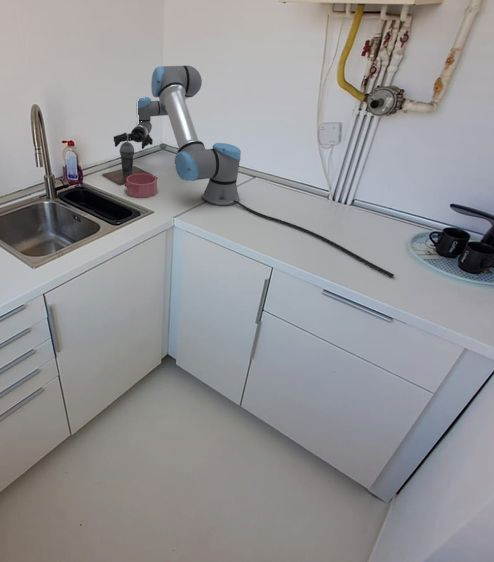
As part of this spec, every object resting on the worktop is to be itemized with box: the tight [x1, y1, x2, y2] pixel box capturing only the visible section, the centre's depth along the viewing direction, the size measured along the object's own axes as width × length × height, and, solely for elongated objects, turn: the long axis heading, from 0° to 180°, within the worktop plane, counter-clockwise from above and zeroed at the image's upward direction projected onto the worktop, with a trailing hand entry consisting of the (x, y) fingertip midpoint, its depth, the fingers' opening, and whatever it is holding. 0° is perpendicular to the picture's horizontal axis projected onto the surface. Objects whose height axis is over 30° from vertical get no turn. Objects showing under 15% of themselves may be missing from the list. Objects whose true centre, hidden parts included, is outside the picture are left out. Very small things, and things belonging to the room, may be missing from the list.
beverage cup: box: [119, 132, 135, 176], centre depth 181 cm, size 7×7×20 cm
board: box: [102, 165, 153, 186], centre depth 187 cm, size 16×20×1 cm
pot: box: [124, 173, 159, 199], centre depth 170 cm, size 14×17×6 cm
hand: (128, 145), depth 181 cm, fingers open, 13 cm apart
